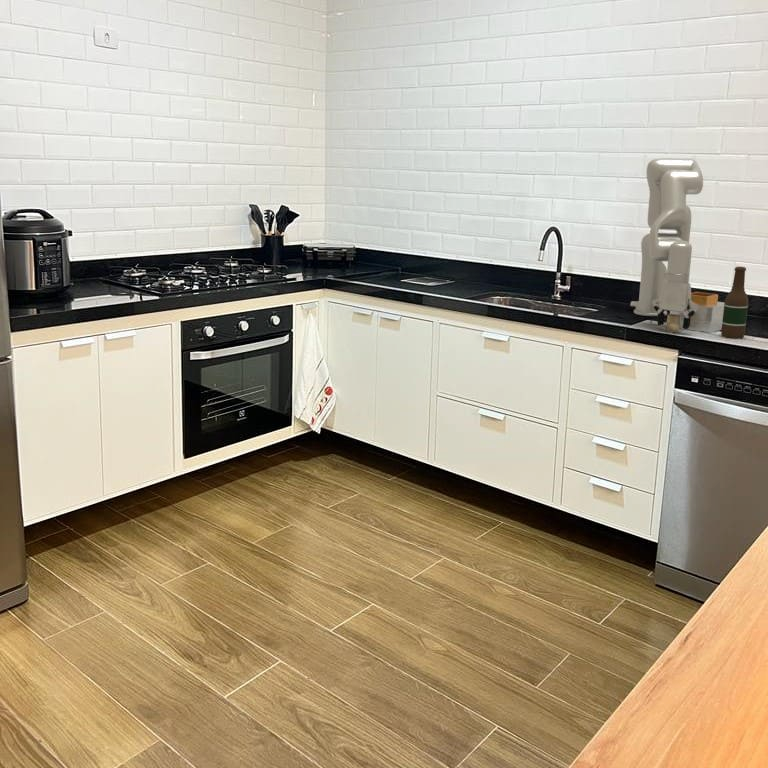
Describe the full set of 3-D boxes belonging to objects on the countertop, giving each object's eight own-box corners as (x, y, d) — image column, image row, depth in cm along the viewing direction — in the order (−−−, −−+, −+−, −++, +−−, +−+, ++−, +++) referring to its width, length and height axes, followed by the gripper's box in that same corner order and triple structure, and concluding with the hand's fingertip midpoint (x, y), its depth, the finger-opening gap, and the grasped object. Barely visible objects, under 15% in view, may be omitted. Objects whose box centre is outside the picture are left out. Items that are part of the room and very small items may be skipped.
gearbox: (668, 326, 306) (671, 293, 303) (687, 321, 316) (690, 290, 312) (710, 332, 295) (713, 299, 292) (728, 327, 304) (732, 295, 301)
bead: (663, 331, 297) (665, 314, 295) (669, 330, 300) (671, 313, 298) (674, 333, 294) (676, 316, 292) (681, 331, 297) (682, 315, 295)
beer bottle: (747, 339, 285) (755, 268, 279) (723, 338, 286) (731, 268, 280) (741, 334, 292) (749, 265, 286) (718, 333, 294) (726, 265, 288)
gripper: (649, 276, 296) (645, 324, 300) (695, 281, 283) (690, 331, 288) (660, 275, 301) (656, 322, 305) (706, 280, 288) (701, 329, 293)
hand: (673, 326), depth 296 cm, fingers open, 9 cm apart
